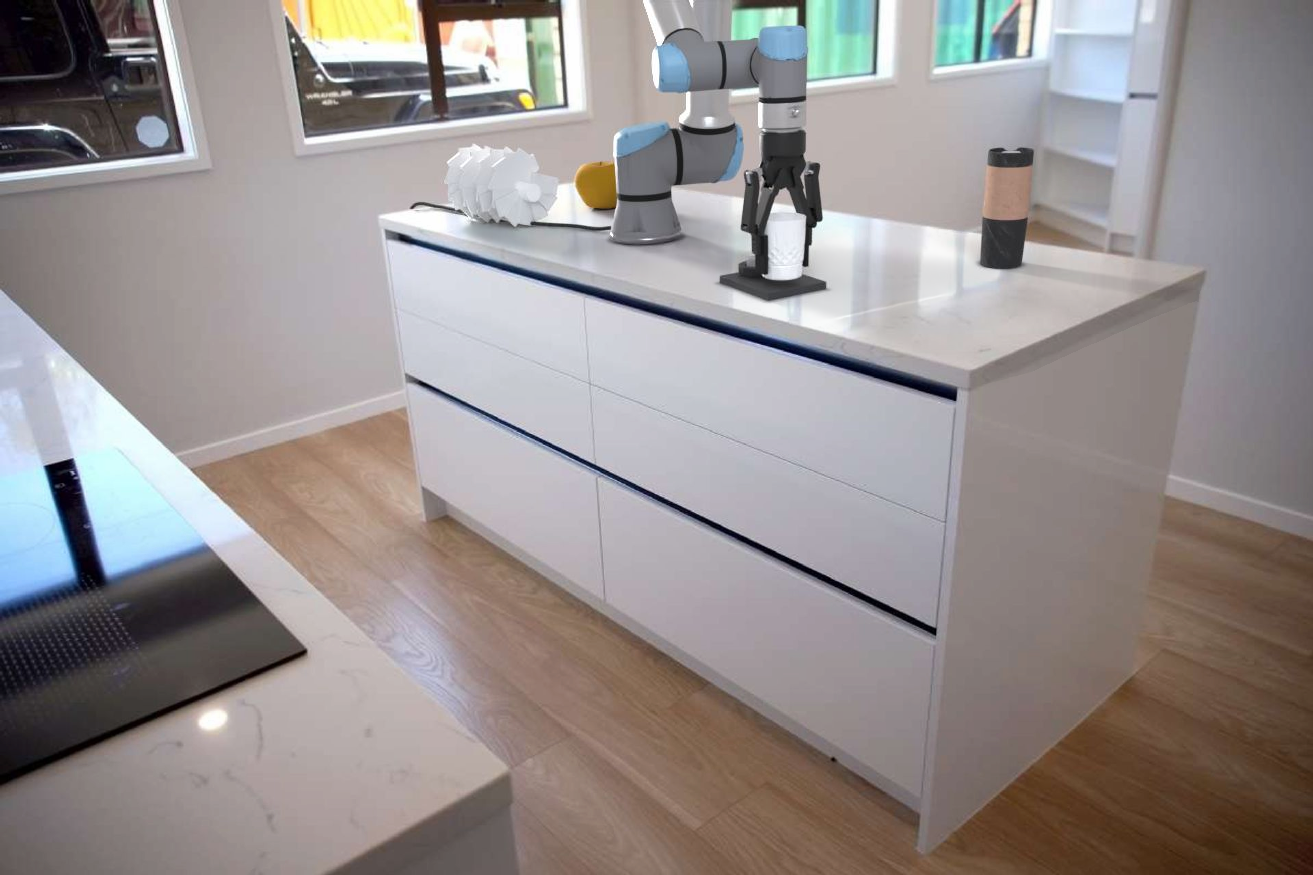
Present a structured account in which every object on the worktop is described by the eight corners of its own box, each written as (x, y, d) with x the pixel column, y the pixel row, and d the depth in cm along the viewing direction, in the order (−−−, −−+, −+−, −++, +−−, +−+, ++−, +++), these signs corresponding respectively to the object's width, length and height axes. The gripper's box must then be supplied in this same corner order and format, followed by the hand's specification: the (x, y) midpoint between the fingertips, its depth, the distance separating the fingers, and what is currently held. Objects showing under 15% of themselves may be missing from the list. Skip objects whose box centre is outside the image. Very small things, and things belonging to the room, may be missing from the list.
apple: (627, 212, 243) (624, 164, 238) (574, 214, 243) (570, 166, 239) (629, 202, 255) (626, 156, 250) (579, 204, 255) (575, 159, 250)
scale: (718, 282, 177) (717, 266, 176) (773, 272, 182) (773, 256, 181) (767, 301, 164) (767, 284, 163) (826, 289, 169) (826, 272, 168)
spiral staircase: (522, 248, 229) (458, 230, 245) (573, 204, 236) (508, 189, 252) (488, 180, 217) (424, 166, 233) (543, 136, 224) (477, 125, 240)
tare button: (743, 265, 177) (742, 257, 176) (758, 263, 178) (758, 254, 177) (753, 269, 174) (753, 260, 173) (768, 266, 175) (768, 257, 175)
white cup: (803, 281, 165) (804, 221, 161) (756, 281, 167) (756, 221, 163) (806, 270, 172) (807, 212, 168) (761, 270, 174) (761, 212, 170)
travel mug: (1000, 271, 175) (1011, 154, 167) (969, 263, 181) (978, 150, 173) (1032, 264, 178) (1044, 149, 170) (1000, 257, 185) (1010, 145, 177)
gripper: (741, 137, 153) (743, 283, 162) (848, 125, 161) (844, 264, 170) (715, 134, 159) (719, 274, 168) (819, 122, 167) (817, 256, 176)
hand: (782, 269), depth 169 cm, fingers closed on white cup, 8 cm apart
